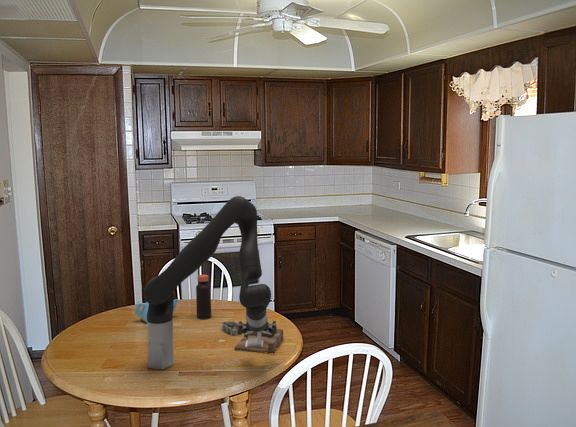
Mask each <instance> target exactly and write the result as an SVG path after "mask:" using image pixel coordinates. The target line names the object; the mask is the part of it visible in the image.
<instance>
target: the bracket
mask: <svg viewBox="0 0 576 427" xmlns="http://www.w3.org/2000/svg"><path fill="white" fill-rule="evenodd" d="M261 343H262V333H261V332H257V338H248V342H247V347H261Z"/></svg>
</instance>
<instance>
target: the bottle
mask: <svg viewBox="0 0 576 427" xmlns="http://www.w3.org/2000/svg"><path fill="white" fill-rule="evenodd" d="M197 282H198V284H197V285H196V286H195V294H196V295H195V296H196V299H195V300H196V301H195V303H196V318H197V319H199V320H208V319H211V318H212V295H211V294H212V288H211V287H212V286H211V284H210V283H209V275H208V274H199V275H198V276H197Z"/></svg>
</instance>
